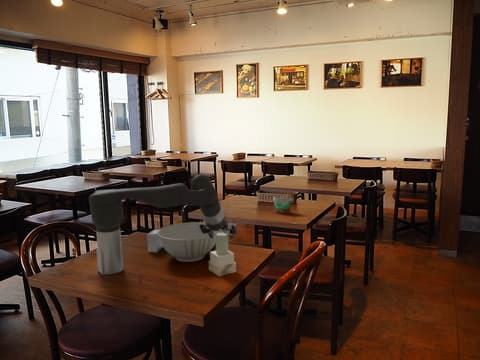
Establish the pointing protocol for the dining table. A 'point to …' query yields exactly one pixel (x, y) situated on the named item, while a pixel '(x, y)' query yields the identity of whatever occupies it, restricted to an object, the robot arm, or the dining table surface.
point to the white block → (222, 258)
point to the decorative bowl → (186, 241)
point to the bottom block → (222, 268)
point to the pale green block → (221, 243)
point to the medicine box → (153, 241)
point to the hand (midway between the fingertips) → (222, 236)
